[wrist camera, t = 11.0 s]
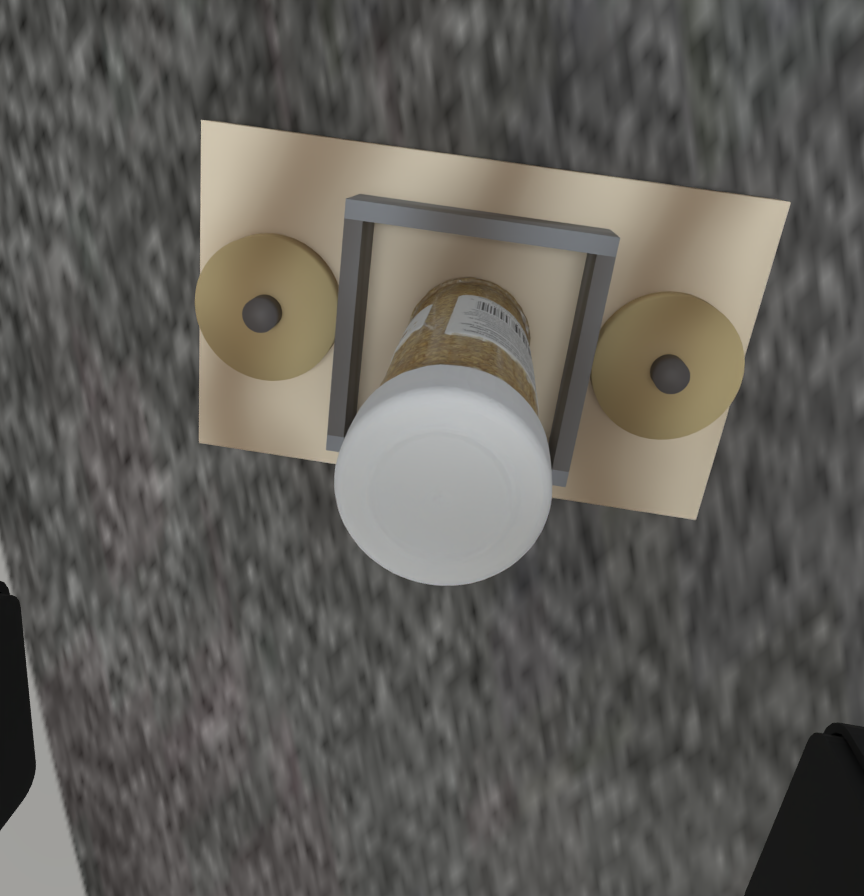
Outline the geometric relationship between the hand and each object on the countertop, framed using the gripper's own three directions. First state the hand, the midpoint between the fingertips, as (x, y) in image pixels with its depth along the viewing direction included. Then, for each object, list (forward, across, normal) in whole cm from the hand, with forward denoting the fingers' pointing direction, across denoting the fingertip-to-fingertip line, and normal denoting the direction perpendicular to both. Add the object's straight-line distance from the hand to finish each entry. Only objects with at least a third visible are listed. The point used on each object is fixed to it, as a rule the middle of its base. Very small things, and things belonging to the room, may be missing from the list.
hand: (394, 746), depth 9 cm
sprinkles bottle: (+20, 0, 0) cm, 20 cm away
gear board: (+22, 0, 0) cm, 22 cm away
